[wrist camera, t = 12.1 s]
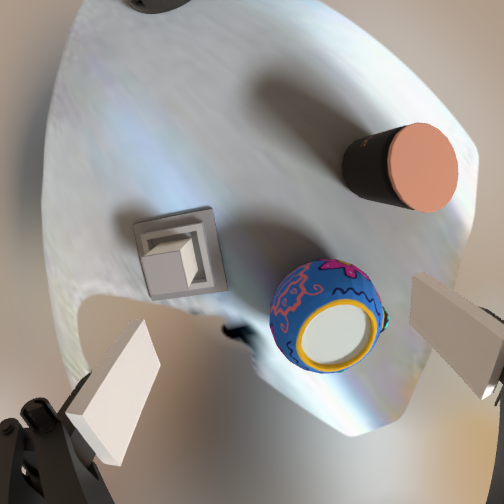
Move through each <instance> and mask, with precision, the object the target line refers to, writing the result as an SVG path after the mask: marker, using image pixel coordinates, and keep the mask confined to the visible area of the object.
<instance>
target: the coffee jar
mask: <svg viewBox="0 0 504 504" xmlns="http://www.w3.org/2000/svg"><path fill="white" fill-rule="evenodd" d="M342 169H343V176H344V179H345V181H346V184H347V185H348V187H349V188H350V189H351V190H352V192H353V193H355V194H356V195H358V196H359V197H360V198H364V199H367V200H371V201H376V202H380V203H385V204H389V205H394V206H398V207H402V208H406V209H411V210H418V211H421V212H423V213H425V212H435V211H437V210H439V209H441V208H443V207H444V206H445V205H446V204H447V203H448V202H449V201H450V200H451V198H452V196H453V194H454V192H455V189H456V187H457V181H458V162H457V158H456V155H455V152H454V149H453V147H452V145H451V144H450V142H449V140H448V139H447V137H446V136H445V135H444V134H443V133H442V132H441V131H440V130H439V129H437V128H435V127H433V126H431V125H429V124H425V123H414V124H411V125H408V126H402V127H399V128H395V129H392V130H388V131H385V132H381V133H378V134H375V135H372V136H368V137H365V138H362V139H359V140H357V141H355V142H354V143H353V144H351V145H350V146H349V147H348V149H347V151H346V152H345V154H344V158H343V163H342Z"/></svg>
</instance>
